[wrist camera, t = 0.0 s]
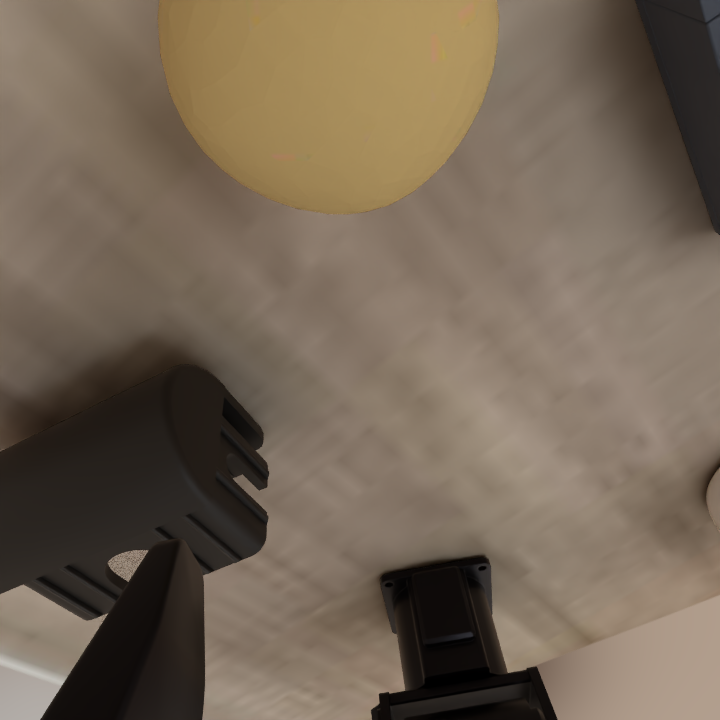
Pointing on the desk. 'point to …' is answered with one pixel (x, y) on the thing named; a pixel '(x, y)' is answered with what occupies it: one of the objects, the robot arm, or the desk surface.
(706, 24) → the bin
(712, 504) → the fruit juice
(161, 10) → the light bulb
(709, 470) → the desk surface
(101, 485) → the end cap
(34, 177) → the desk surface
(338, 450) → the desk surface
